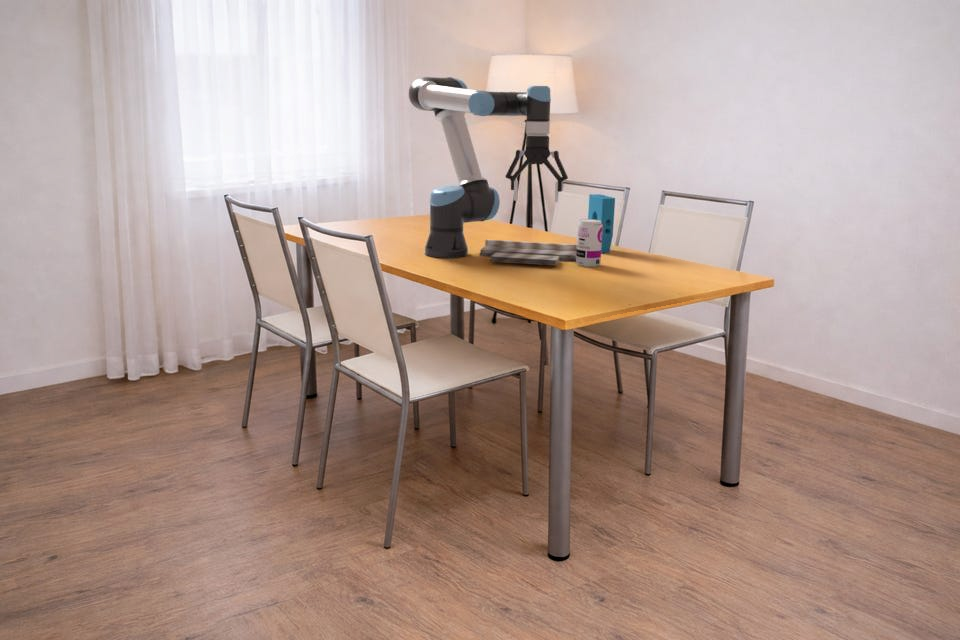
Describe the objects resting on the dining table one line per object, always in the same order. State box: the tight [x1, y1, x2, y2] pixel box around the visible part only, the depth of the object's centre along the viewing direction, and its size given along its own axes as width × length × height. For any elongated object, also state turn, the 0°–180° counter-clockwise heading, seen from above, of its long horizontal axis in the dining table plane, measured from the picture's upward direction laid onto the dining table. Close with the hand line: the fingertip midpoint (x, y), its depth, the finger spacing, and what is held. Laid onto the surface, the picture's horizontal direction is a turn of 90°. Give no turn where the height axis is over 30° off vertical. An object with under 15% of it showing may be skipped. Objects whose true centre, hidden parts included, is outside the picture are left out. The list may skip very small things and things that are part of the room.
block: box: [587, 193, 616, 254], centre depth 315 cm, size 12×5×20 cm, turn 20°
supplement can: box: [575, 218, 603, 268], centre depth 289 cm, size 8×8×15 cm
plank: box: [489, 253, 560, 266], centre depth 291 cm, size 22×12×2 cm, turn 79°
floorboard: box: [479, 239, 577, 263], centre depth 303 cm, size 36×11×4 cm, turn 79°
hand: (535, 201), depth 284 cm, fingers open, 13 cm apart
